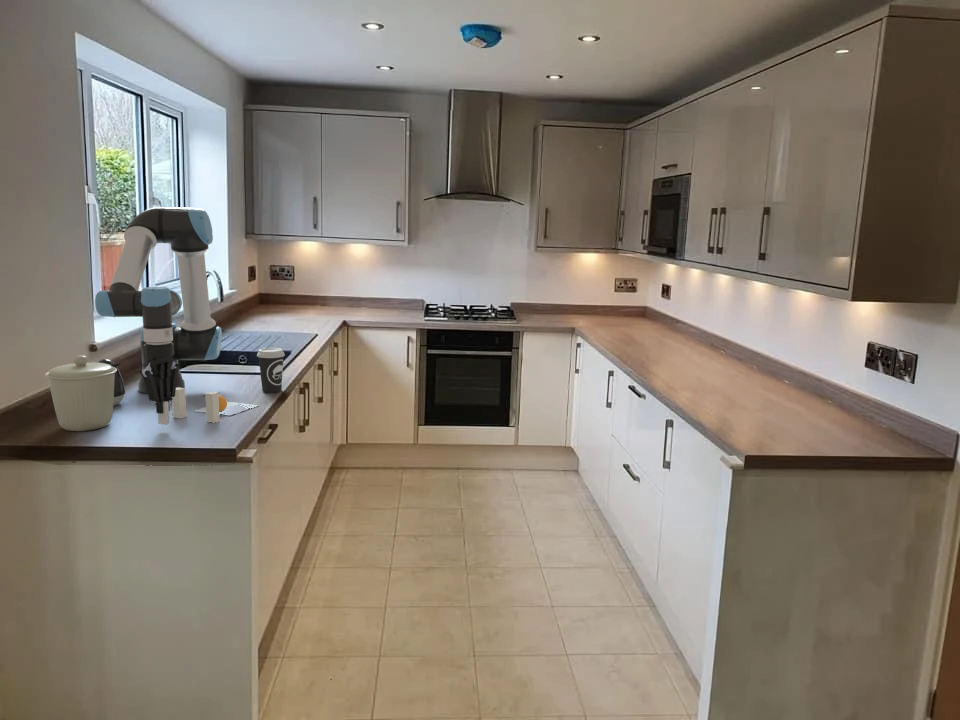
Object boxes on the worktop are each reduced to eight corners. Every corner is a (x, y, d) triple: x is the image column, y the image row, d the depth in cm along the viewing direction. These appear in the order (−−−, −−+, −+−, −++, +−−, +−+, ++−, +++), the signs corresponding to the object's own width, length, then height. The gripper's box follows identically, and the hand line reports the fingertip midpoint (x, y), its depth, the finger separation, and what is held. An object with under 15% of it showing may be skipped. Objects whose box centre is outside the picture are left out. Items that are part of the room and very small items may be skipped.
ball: (202, 401, 223) (208, 414, 226) (216, 403, 221) (222, 417, 224) (213, 390, 227) (219, 404, 230) (227, 392, 225) (233, 406, 229)
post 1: (179, 415, 222) (177, 387, 220) (186, 416, 221) (184, 388, 219) (173, 417, 219) (171, 389, 218) (180, 418, 218) (178, 389, 217)
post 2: (212, 420, 217) (211, 391, 216) (219, 421, 217) (218, 392, 215) (206, 422, 215) (205, 393, 213) (213, 423, 214) (212, 394, 212)
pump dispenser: (111, 410, 226) (108, 362, 223) (83, 407, 228) (79, 360, 225) (133, 402, 236) (130, 357, 233) (105, 400, 238) (102, 355, 235)
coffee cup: (285, 387, 262) (283, 346, 259) (286, 393, 253) (285, 351, 250) (257, 388, 259) (256, 347, 256) (258, 394, 250) (256, 352, 247)
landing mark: (223, 401, 240) (223, 400, 240) (258, 406, 235) (258, 405, 235) (194, 411, 227) (194, 410, 227) (230, 416, 222) (230, 415, 222)
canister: (114, 433, 202) (108, 360, 198) (42, 437, 197) (34, 362, 193) (126, 416, 219) (121, 349, 215) (59, 420, 214) (53, 350, 210)
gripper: (151, 347, 194) (157, 430, 198) (186, 340, 206) (190, 419, 210) (130, 344, 196) (135, 427, 201) (165, 338, 208) (170, 416, 213)
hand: (164, 423), depth 205 cm, fingers closed
